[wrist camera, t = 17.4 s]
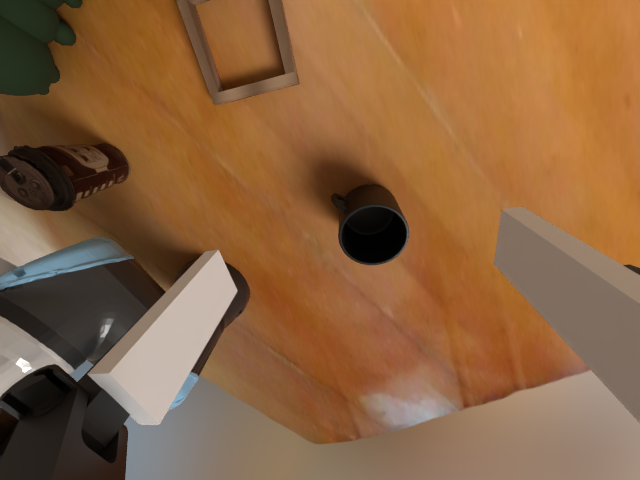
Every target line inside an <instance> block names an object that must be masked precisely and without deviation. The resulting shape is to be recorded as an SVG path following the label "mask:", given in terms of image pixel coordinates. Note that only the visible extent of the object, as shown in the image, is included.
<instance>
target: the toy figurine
mask: <svg viewBox="0 0 640 480" xmlns="http://www.w3.org/2000/svg"><path fill="white" fill-rule="evenodd" d="M63 2H65V3H66V4H67V5H69V6H70V7H72V8H79V7H81V5H82V0H0V94H6V95H15V96H26V95H34V94H42V95H46V94H48V93H49V86H50V85H51V83H56V82H58V81H59V79H60V74H59V71H58V69H57V68H56V66H55V65H54V60H53V56H52V54H51V52H50V49H49V48H48V46H47V43H50V42H52V41H53V40H55V41H56V42H57V43H59V44H61V45H69V46H72V45H73V44H74V43H75V42H76V36H75V34H74V32H73V31H72V29H71V28H70V27H69V26H68V25H67V24H65V23H64V22H63V21H59V17H58V14H57V12H56V9H57V8H58V7H60V6H61V5H62V4H63Z"/></svg>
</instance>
